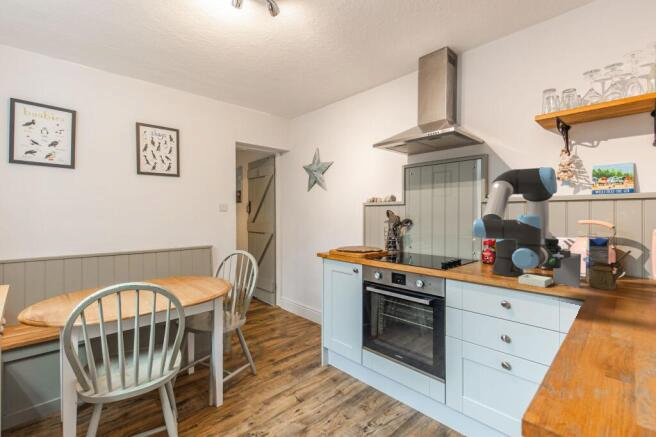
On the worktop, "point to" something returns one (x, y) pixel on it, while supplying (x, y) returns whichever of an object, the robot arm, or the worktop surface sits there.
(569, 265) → the bay
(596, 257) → the beverage box
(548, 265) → the supplement bottle
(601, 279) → the wooden mug
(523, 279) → the tray
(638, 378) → the worktop surface
